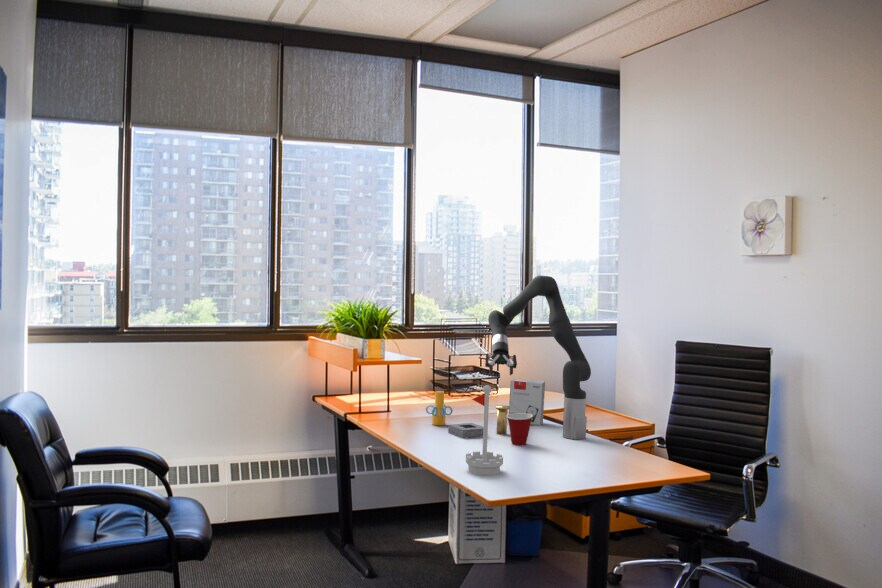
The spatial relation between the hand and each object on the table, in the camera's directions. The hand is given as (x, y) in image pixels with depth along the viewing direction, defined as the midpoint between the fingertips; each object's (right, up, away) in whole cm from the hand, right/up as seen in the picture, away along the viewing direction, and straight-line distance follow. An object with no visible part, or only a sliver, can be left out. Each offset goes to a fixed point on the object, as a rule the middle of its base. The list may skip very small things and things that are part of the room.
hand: (501, 373), depth 332 cm
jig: (-16, -24, -15) cm, 33 cm away
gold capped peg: (-1, -25, -11) cm, 27 cm away
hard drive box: (+13, -25, +17) cm, 33 cm away
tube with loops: (-28, -24, +4) cm, 37 cm away
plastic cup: (+4, -26, -30) cm, 40 cm away
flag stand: (-12, -26, -75) cm, 80 cm away
